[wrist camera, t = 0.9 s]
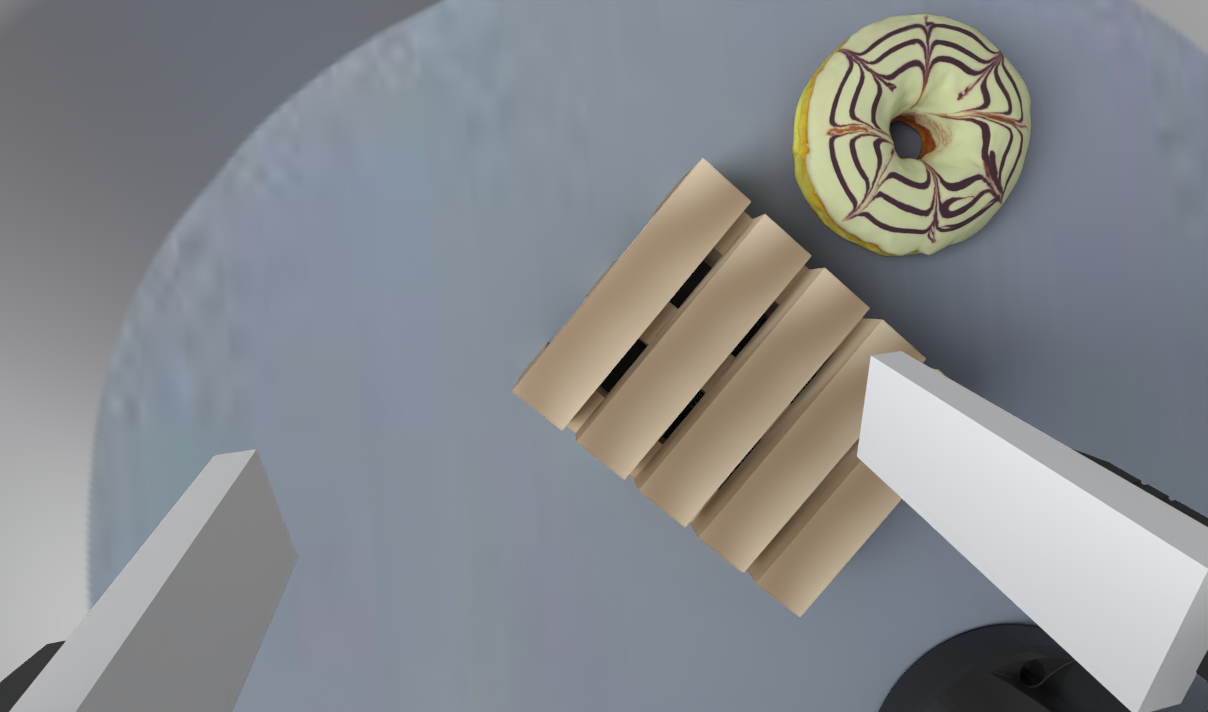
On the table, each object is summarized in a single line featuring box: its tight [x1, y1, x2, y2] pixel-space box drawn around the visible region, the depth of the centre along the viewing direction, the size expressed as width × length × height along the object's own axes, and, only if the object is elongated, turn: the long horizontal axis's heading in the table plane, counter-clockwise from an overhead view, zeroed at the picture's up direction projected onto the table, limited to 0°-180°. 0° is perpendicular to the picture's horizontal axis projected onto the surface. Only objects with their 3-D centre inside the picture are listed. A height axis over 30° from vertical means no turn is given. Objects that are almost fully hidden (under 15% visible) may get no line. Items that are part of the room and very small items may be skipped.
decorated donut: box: [792, 14, 1031, 257], centre depth 26 cm, size 10×11×4 cm
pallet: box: [512, 159, 945, 617], centre depth 26 cm, size 16×12×5 cm
